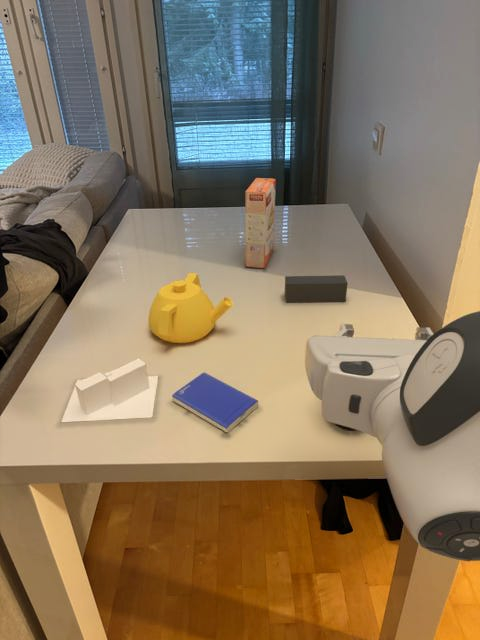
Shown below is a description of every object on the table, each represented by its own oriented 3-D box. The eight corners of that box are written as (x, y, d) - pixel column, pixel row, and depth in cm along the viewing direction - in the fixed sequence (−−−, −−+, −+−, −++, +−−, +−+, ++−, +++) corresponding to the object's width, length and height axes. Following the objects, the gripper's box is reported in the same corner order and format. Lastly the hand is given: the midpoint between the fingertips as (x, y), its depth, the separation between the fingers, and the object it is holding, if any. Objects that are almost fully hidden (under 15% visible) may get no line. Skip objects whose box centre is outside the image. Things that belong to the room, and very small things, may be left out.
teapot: (221, 361, 90) (218, 312, 84) (133, 350, 94) (125, 302, 88) (244, 310, 106) (243, 266, 101) (169, 302, 110) (164, 260, 105)
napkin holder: (158, 375, 87) (154, 349, 84) (153, 417, 77) (149, 390, 74) (76, 379, 86) (70, 354, 83) (60, 423, 76) (52, 396, 73)
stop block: (342, 294, 113) (344, 275, 110) (345, 302, 109) (347, 282, 107) (284, 294, 113) (285, 276, 110) (285, 302, 109) (286, 283, 107)
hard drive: (171, 394, 79) (226, 426, 73) (204, 371, 85) (258, 399, 78) (172, 401, 80) (226, 434, 73) (204, 378, 86) (258, 406, 79)
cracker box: (266, 269, 125) (267, 192, 114) (244, 267, 126) (243, 190, 116) (275, 249, 137) (276, 177, 126) (254, 248, 138) (254, 176, 127)
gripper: (529, 379, 44) (474, 311, 56) (313, 369, 45) (304, 304, 57) (510, 429, 47) (461, 355, 59) (307, 419, 48) (300, 348, 60)
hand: (383, 330), depth 58 cm, fingers open, 8 cm apart
